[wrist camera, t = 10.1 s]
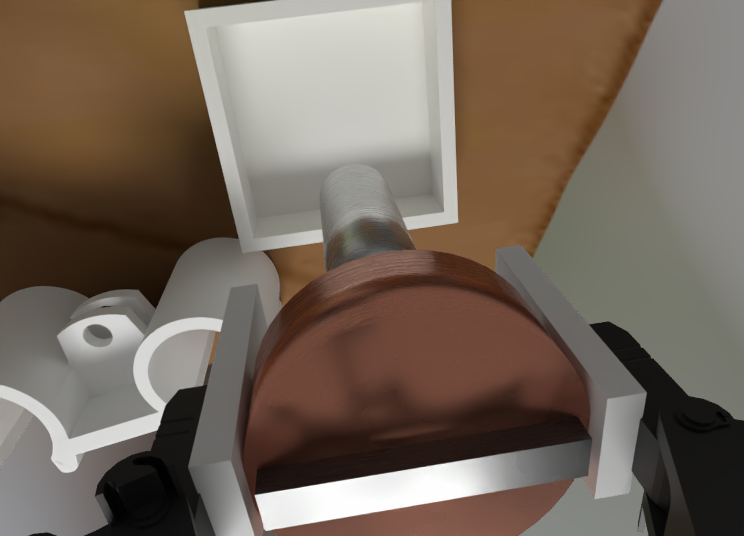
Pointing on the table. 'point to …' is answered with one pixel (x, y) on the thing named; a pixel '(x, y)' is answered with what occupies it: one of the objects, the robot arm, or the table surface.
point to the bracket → (117, 350)
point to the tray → (328, 107)
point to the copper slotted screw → (407, 390)
